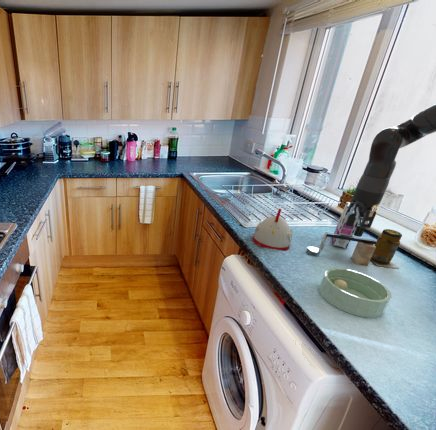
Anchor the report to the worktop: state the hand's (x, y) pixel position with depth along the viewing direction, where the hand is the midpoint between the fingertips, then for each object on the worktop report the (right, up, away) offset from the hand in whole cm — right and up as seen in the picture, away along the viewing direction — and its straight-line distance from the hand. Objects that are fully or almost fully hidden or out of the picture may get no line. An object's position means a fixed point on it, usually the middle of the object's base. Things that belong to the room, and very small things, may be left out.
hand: (352, 230), depth 103 cm
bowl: (-15, -20, -16) cm, 30 cm away
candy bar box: (+9, -6, +17) cm, 20 cm away
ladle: (-2, -11, +6) cm, 12 cm away
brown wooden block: (+5, -12, +3) cm, 13 cm away
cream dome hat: (-21, -6, +16) cm, 27 cm away
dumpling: (-15, -18, -13) cm, 27 cm away
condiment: (+14, -12, +4) cm, 19 cm away
